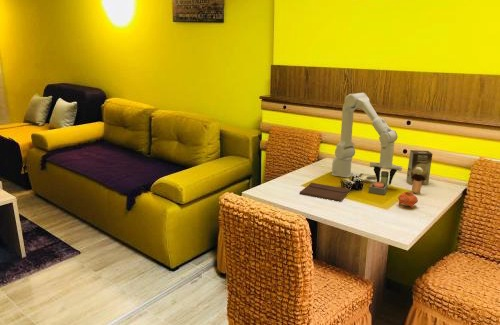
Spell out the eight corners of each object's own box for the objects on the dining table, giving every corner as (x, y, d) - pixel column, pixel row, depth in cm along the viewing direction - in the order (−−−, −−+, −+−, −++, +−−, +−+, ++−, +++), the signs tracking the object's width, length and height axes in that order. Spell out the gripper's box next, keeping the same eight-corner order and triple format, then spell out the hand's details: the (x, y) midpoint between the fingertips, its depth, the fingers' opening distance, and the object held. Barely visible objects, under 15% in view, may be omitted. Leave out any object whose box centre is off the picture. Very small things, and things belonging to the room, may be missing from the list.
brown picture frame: (354, 181, 207) (354, 179, 207) (361, 174, 217) (361, 172, 217) (382, 185, 201) (383, 183, 200) (388, 178, 211) (388, 176, 210)
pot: (399, 200, 181) (404, 187, 178) (416, 208, 177) (422, 194, 174) (392, 205, 175) (398, 191, 172) (410, 213, 171) (416, 199, 168)
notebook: (340, 203, 180) (340, 198, 179) (299, 195, 189) (299, 191, 189) (350, 192, 192) (351, 188, 192) (311, 185, 202) (311, 182, 201)
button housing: (368, 192, 191) (369, 186, 190) (372, 188, 197) (372, 182, 196) (384, 195, 188) (384, 189, 187) (387, 190, 193) (387, 184, 193)
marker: (379, 188, 197) (380, 172, 195) (380, 186, 200) (382, 170, 198) (386, 189, 195) (387, 173, 193) (387, 187, 198) (389, 171, 196)
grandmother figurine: (407, 193, 190) (410, 167, 187) (408, 190, 194) (411, 164, 190) (424, 195, 187) (428, 169, 184) (425, 193, 190) (428, 167, 187)
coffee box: (409, 184, 202) (413, 153, 198) (406, 180, 208) (409, 149, 204) (428, 185, 201) (432, 153, 197) (424, 180, 207) (428, 150, 203)
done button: (372, 189, 191) (372, 184, 190) (374, 186, 195) (375, 181, 194) (382, 190, 189) (382, 185, 188) (384, 188, 193) (384, 183, 192)
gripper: (369, 155, 193) (366, 182, 197) (401, 159, 186) (398, 187, 190) (372, 152, 199) (370, 178, 203) (403, 156, 192) (400, 183, 196)
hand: (384, 183), depth 197 cm, fingers open, 5 cm apart
